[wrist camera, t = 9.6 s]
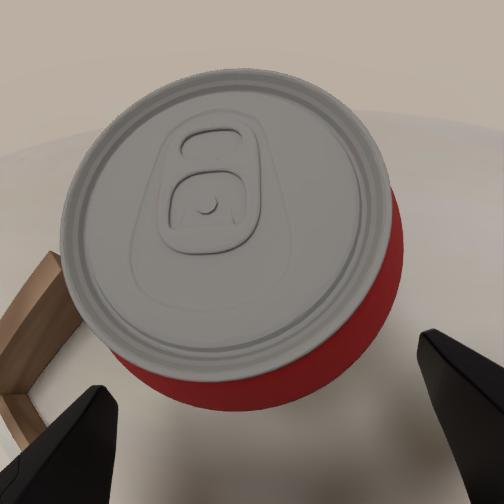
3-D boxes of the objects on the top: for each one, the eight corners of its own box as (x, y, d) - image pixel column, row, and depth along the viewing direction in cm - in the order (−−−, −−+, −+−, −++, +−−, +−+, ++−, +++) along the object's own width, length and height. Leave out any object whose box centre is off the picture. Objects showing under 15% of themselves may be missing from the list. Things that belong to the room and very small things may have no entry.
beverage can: (206, 373, 15) (18, 395, 4) (208, 246, 17) (81, 85, 6) (341, 370, 14) (460, 416, 3) (334, 239, 16) (379, 42, 5)
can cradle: (160, 334, 16) (116, 326, 12) (50, 452, 14) (4, 462, 10) (103, 265, 18) (57, 240, 14) (10, 385, 16) (-36, 383, 12)
